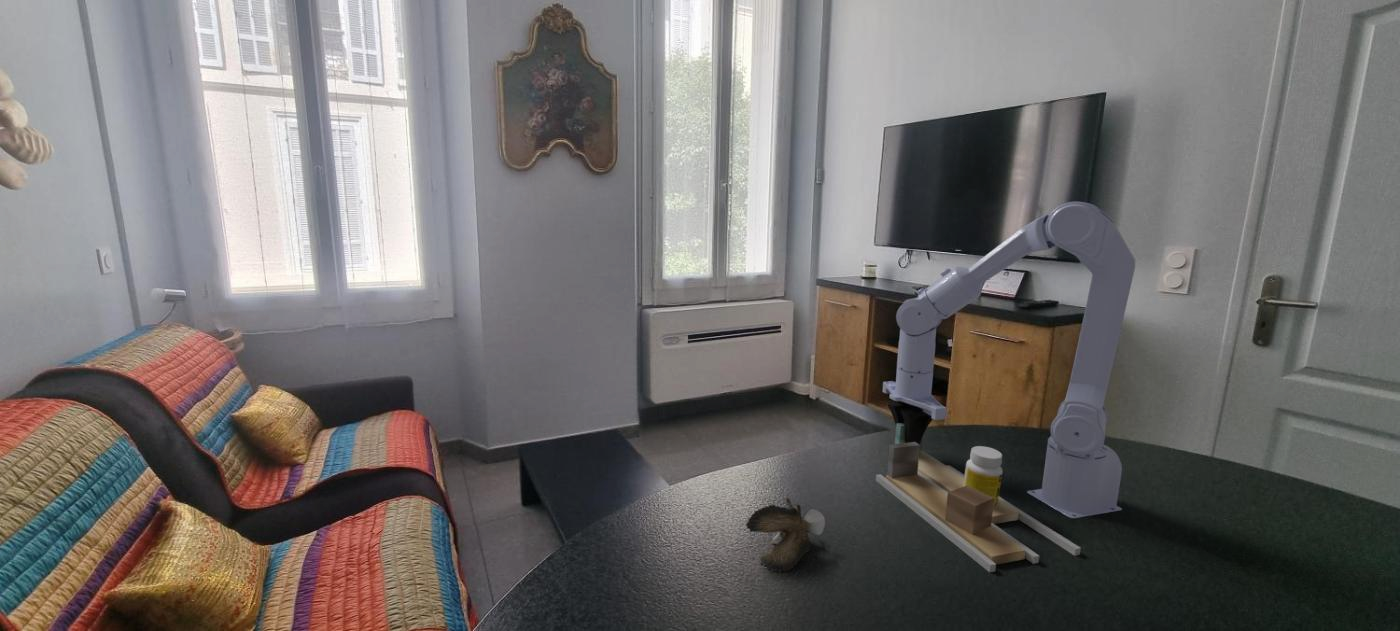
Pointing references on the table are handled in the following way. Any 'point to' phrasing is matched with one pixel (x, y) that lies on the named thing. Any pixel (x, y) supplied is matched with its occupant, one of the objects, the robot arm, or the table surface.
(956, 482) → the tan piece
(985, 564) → the lane board
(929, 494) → the gray handled wooden slider
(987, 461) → the supplement bottle
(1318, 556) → the table surface
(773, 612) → the table surface
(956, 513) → the walnut cube
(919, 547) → the table surface
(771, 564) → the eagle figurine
